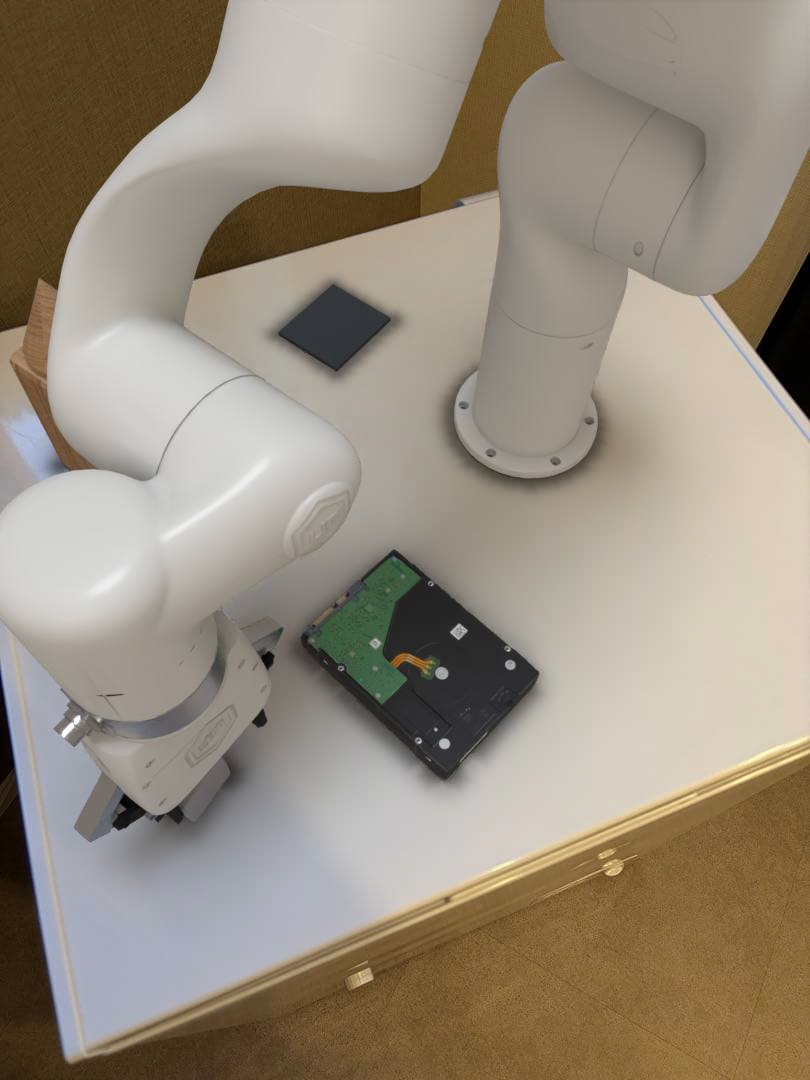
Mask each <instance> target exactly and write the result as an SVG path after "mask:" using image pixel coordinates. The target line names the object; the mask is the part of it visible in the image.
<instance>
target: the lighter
mask: <svg viewBox="0 0 810 1080" xmlns="http://www.w3.org/2000/svg"><path fill="white" fill-rule="evenodd" d="M230 775H231V769H230V767H229V765H228V764H227V762H226V760H225V758H224V755H223V756H222V757H221V758H220V759H219V760H218V761H217V762H216V764H215V765H214V766H213V767H212V768H211V769H210V770H209V771H208V773H207V774H206V775H205V776H204V777H203V778H202V779H201V781H200V782H199V783H198V784H197V785H196V786H195V787H194V788H193V789H192V791H191V792H190V793H189V794H188V795H187V796H186V797H185V798H184V799H183V800H182V801H181V802H180V803H179V804H178V805H177V806H178V807H179V808H180V809H181V811H182V812H183V813H184V816H183V817H184V818H187V819H188V820H190V821H191V822H193V823H196V822H198V821H199V819H200V818H201V817H202V815H203V814H204V812H205V811H206V809H207V808H208V807H209V805H210V803H211V802H212V801H213V800H214V798H215V797H216V795H217V794H218V792H219V791H220V789H221V788H222V787H223V785H224V784H225V782H226V781H227V779H228V778H229V777H230Z"/></svg>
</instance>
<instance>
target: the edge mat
mask: <svg viewBox="0 0 810 1080" xmlns="http://www.w3.org/2000/svg"><path fill="white" fill-rule="evenodd" d="M389 322H391V317H390V316H388V315H387V314H385V313H383V312H381V311H379V310H378V309H376V308H375V307H373V306H372V305H370V304H368V303H366V302H365V301H363V300H361V299H360V298H358V297H357V296H354V295H353V294H351V293H349V292H348V291H346V290H344V289H343V288H341V287H339V286H337V285H336V284H334V283H332V284H331V285H330V286H329V287H327V289H325V290H324V291H323V292H322V293H321V294H319V295H318V297H316V298H315V299H314V300H312V302H311V303H309V305H307V306H306V307H305V308H304V309H303V310H301V311H300V312H299V313H298V314H297V315H296V316H295V317H294V318H293V319H291V320H290V321H289V322H288V323H286V324H285V326H283V327H282V328H281V329H280V330H279V331H278V333H277V334H278V336H280V337H281V338H283V339H285V340H286V341H288V342H289V343H291V344H292V345H294V346H296V347H297V348H299V349H301V350H302V351H303V352H305V353H307V354H309V355H310V356H312V357H313V358H315V359H317V361H319V362H321V363H323V364H325V365H326V366H327V367H329V368H331V369H333V371H336V372H338V371H339V370H340V369H341V368H342V367H343V366H344V365H345V364H346V363H347V362H349V360H350V359H352V358H353V357H354V356H355V355H356V354H357V352H359V351H360V350H361V349H362V348H364V346H366V345H367V344H368V342H370V341H371V339H373V338H374V337H375V336H376V335H377V334H378V333H379V332H380V331H382V329H384V327H385V326H386V325H387V324H389Z"/></svg>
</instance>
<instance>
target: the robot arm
mask: <svg viewBox="0 0 810 1080" xmlns="http://www.w3.org/2000/svg"><path fill="white" fill-rule="evenodd" d="M501 1H502V0H228V2H227V8H226V11H225V16H224V19H223V24H222V29H221V33H220V38H219V42H218V47H217V51H216V54H215V57H214V60H213V63H212V66H211V69H210V72H209V73H208V76H207V78H206V80H205V82H204V83H203V84H202V87H201V88H200V90H199V91H198V92H197V93H196V94H195V95H194V96H193V97H192V98H191V99H190V101H188V102H187V103H186V104H185V105H184V106H182V107H181V108H180V109H178V110H177V111H176V112H174V113H173V114H171V115H170V116H169V117H168V118H166V119H165V120H164V121H163V122H161V123H160V124H159V125H157V126H156V127H155V128H154V129H152V130H151V131H150V132H149V133H147V134H146V135H145V136H144V137H143V138H142V139H141V140H140V141H139V142H138V143H137V144H136V145H135V146H134V147H133V148H132V149H131V150H130V151H129V152H128V154H127V155H126V156H125V157H124V158H123V160H122V161H121V162H120V163H119V164H118V166H117V167H116V168H115V169H114V171H113V172H112V173H111V174H110V175H109V177H108V178H107V179H106V180H105V182H104V183H103V184H102V186H101V187H100V188H99V190H98V191H97V192H96V194H95V196H93V198H92V199H91V201H90V203H89V204H88V205H87V207H86V208H85V210H84V212H83V214H82V215H81V217H80V219H79V221H78V222H77V224H76V226H75V228H74V231H73V233H72V236H71V237H70V240H69V242H68V245H67V248H66V251H65V255H64V259H63V262H62V266H61V269H60V270H61V271H60V276H59V277H60V278H59V282H58V286H57V290H58V292H57V298H56V304H55V310H54V316H53V322H52V328H51V335H50V342H49V349H48V360H47V393H48V400H49V404H50V408H51V412H52V416H53V419H54V421H55V424H56V426H57V427H58V429H59V431H60V432H61V434H62V435H63V437H64V438H65V440H66V441H67V442H68V443H69V445H70V446H71V447H72V448H73V449H74V450H75V451H76V452H78V453H79V454H80V455H81V456H83V457H84V458H85V459H86V460H87V461H89V462H90V463H91V464H92V465H94V466H95V467H96V468H98V469H99V470H97V469H87V470H74V471H73V470H70V471H64V472H60V473H57V474H54V475H51V476H49V477H45V478H43V479H42V480H40V481H37V482H36V483H33V484H32V485H30V486H28V487H27V488H26V489H24V490H23V491H21V492H19V493H18V494H17V495H16V496H15V497H14V498H13V499H12V500H11V501H10V502H9V503H8V504H6V506H5V507H4V508H3V509H2V511H1V512H0V621H1V622H2V624H3V625H4V626H5V628H6V629H7V630H8V632H10V633H11V634H12V635H13V636H14V637H15V638H16V640H18V642H19V643H20V644H21V645H22V646H23V647H24V649H26V650H27V651H28V653H29V654H30V655H31V656H32V657H33V658H34V660H35V661H36V662H38V664H39V665H40V666H41V667H42V669H44V670H45V671H46V673H48V675H49V676H50V677H51V678H52V679H53V680H54V681H55V682H56V684H57V685H58V686H59V687H60V689H59V690H60V691H61V692H62V694H63V695H64V696H65V697H66V698H67V699H68V700H69V702H68V703H67V704H66V707H67V709H66V711H65V712H64V713H63V714H62V715H63V716H64V717H63V718H62V719H61V720H60V721H59V722H58V723H57V724H56V725H55V726H54V727H53V730H54V731H55V732H56V733H57V734H58V735H59V736H60V737H62V739H63V740H65V741H66V742H67V743H68V744H69V745H71V746H72V747H73V748H76V747H77V746H78V744H80V743H81V744H82V747H83V749H84V750H85V751H86V753H87V755H88V756H89V758H90V759H91V760H92V762H93V763H94V765H95V766H96V767H97V768H98V769H99V770H100V771H101V774H100V776H99V778H98V779H97V781H96V783H95V785H94V787H93V789H92V790H91V793H90V795H89V797H88V798H87V800H86V802H85V804H84V806H83V808H82V810H81V812H80V813H79V816H78V817H77V819H76V822H75V823H74V825H73V829H74V830H75V831H76V832H78V834H79V835H80V836H82V837H83V838H84V839H85V840H86V841H87V842H88V843H93V842H94V841H96V840H98V839H100V838H102V837H104V836H105V835H107V834H109V833H111V831H112V829H115V830H116V831H118V832H119V831H122V830H123V829H127V828H128V827H129V826H130V825H131V824H133V823H135V822H136V821H138V820H140V819H141V818H143V817H144V818H146V819H147V820H148V821H149V822H152V821H153V820H155V822H157V823H159V822H160V821H161V820H162V819H163V818H164V817H165V816H168V817H169V818H170V819H171V820H172V821H173V822H175V823H176V825H180V823H181V822H182V821H183V820H184V818H185V816H184V813H183V812H182V811H181V809H180V808H179V807H178V806H177V805H178V804H179V803H180V802H181V801H182V800H183V799H184V798H185V797H186V796H187V795H188V794H189V793H190V792H191V791H192V789H193V788H194V787H195V786H196V785H197V784H198V783H199V782H200V781H201V779H202V778H203V777H204V776H205V775H206V774H207V773H208V771H209V770H210V769H211V768H212V767H213V766H214V765H215V764H216V762H217V761H218V760H219V759H220V758H221V757H222V756H223V757H224V755H225V753H226V752H227V751H228V750H229V749H230V748H231V746H232V745H234V743H235V742H236V741H237V740H238V738H239V737H240V736H241V735H242V734H243V733H244V731H245V730H246V729H247V728H248V727H249V725H251V724H252V725H254V726H255V727H256V728H258V729H260V728H264V726H266V725H267V724H268V722H269V721H268V717H267V715H266V712H265V709H264V707H265V706H266V704H267V703H268V701H269V700H270V697H271V693H272V681H271V677H270V673H269V670H270V668H271V667H272V666H274V665H273V664H274V663H275V657H276V656H275V654H274V653H273V650H275V649H276V648H277V646H278V644H279V642H280V638H281V636H282V635H283V632H284V629H285V627H284V626H283V625H282V624H280V623H279V622H278V621H277V620H276V619H274V618H272V617H271V616H270V615H267V616H264V617H263V618H261V619H259V620H257V621H255V622H254V623H251V624H250V625H248V626H247V625H246V627H243V628H242V629H240V628H239V626H238V625H237V624H236V622H234V621H233V620H232V619H231V618H230V617H229V616H227V615H226V614H225V613H223V612H222V611H220V609H221V608H223V607H224V606H225V605H227V604H229V603H230V602H231V601H233V600H235V599H236V598H237V597H239V596H241V595H242V594H244V593H245V592H247V591H250V590H251V589H252V588H254V587H256V586H257V585H258V584H260V583H262V582H263V581H266V580H267V579H268V578H269V577H271V576H273V575H274V574H276V573H278V572H279V571H281V570H282V569H284V568H285V567H287V566H288V565H289V566H290V565H291V564H292V563H294V562H295V561H296V560H299V559H300V558H301V559H302V558H304V557H306V556H308V555H310V554H313V553H315V552H316V551H317V550H319V549H320V548H321V547H323V546H324V545H325V544H326V543H328V542H329V541H330V540H331V539H332V537H334V535H336V533H337V532H338V531H339V529H340V528H341V527H342V526H343V524H344V522H345V521H346V519H347V518H348V516H349V514H350V512H351V510H352V508H353V504H354V503H355V500H356V498H357V495H358V493H359V491H360V487H361V482H362V474H363V472H362V464H361V463H362V462H361V458H360V455H359V454H358V452H357V450H356V447H355V446H354V444H353V443H352V442H351V440H350V439H349V438H348V437H347V436H346V435H345V433H343V432H342V431H341V430H340V429H339V428H338V427H336V426H335V425H334V424H332V422H330V421H329V420H328V419H326V418H324V417H323V416H321V415H320V414H318V413H317V412H315V411H313V410H312V409H311V408H309V407H308V406H306V405H304V404H303V403H301V402H300V401H298V400H296V399H295V398H293V397H292V396H290V395H289V394H288V393H286V392H284V391H282V390H281V389H279V388H278V387H277V386H274V385H273V384H272V383H270V382H269V381H267V380H266V379H265V378H264V377H262V376H260V375H259V374H257V373H256V372H254V371H253V370H251V369H250V368H248V367H246V366H245V365H244V364H242V363H241V362H239V361H238V360H236V359H235V358H233V357H231V356H229V355H228V354H227V353H226V352H223V350H220V349H219V348H217V347H216V346H214V345H213V344H212V343H209V342H208V341H207V340H205V339H204V338H202V337H200V336H199V335H197V334H196V333H194V332H193V331H191V330H190V329H188V328H187V327H186V326H185V318H186V313H187V309H188V306H189V305H188V304H189V301H190V296H191V292H192V287H193V284H194V281H195V277H196V273H197V269H198V267H199V263H200V261H201V259H202V256H203V253H204V250H205V248H206V246H207V245H208V243H209V241H210V239H211V237H212V235H213V233H214V232H215V231H216V230H217V228H218V227H219V226H220V224H221V223H222V222H223V221H224V219H225V218H226V217H227V216H228V215H229V214H231V212H233V211H234V210H235V209H236V208H237V207H238V206H240V204H242V203H244V202H246V201H247V200H248V199H250V198H252V197H255V196H256V195H257V194H259V193H262V192H264V191H268V190H271V189H274V188H278V187H288V186H289V187H290V186H293V187H308V188H317V189H325V190H326V189H328V190H335V191H345V192H346V191H348V192H357V193H393V192H394V193H395V192H398V191H403V190H408V189H412V188H415V187H417V186H420V185H421V184H423V183H424V182H426V181H427V180H429V179H430V177H431V176H432V175H433V174H434V172H435V171H436V170H437V169H438V167H439V166H440V163H441V161H442V159H443V156H444V155H445V151H446V148H447V146H448V144H449V141H450V138H451V135H452V133H453V130H454V127H455V124H456V121H457V119H458V117H459V113H460V111H461V109H462V105H463V102H464V100H465V97H466V94H467V91H468V89H469V86H470V83H471V81H472V78H473V75H474V73H475V71H476V67H477V65H478V62H479V59H480V57H481V54H482V51H483V49H484V43H485V40H486V38H487V35H488V34H489V32H490V30H491V27H492V25H493V22H494V19H495V17H496V14H497V11H498V9H499V6H500V3H501ZM543 12H544V13H543V14H544V15H543V16H544V26H545V31H546V36H547V38H548V40H549V42H550V44H551V46H552V48H553V49H554V50H555V51H556V52H557V53H558V54H559V56H560V57H562V59H564V60H560V61H555V62H552V63H549V64H547V65H545V66H542V67H541V68H539V69H538V70H536V71H534V73H533V74H531V75H530V76H529V77H528V78H527V79H526V80H525V81H524V82H523V83H522V84H521V86H520V87H519V88H518V89H517V90H516V92H515V94H514V96H513V97H512V99H511V101H510V103H509V105H508V107H507V109H506V113H505V114H504V117H503V121H502V125H501V129H500V132H499V137H498V144H497V155H496V172H497V173H496V175H497V176H496V177H497V189H498V190H497V191H498V200H499V201H498V202H499V232H498V243H497V252H496V259H495V264H494V265H495V266H494V272H493V277H492V284H491V289H490V295H489V301H488V308H487V314H486V320H485V325H484V326H485V327H484V332H483V338H482V344H481V350H480V357H479V363H478V369H477V370H475V371H474V372H473V373H472V374H471V375H469V376H468V377H467V378H466V380H465V381H464V382H463V383H462V385H461V386H460V388H459V390H458V392H457V394H456V397H455V401H454V402H455V403H454V408H453V423H454V428H455V432H456V434H457V437H458V439H459V441H460V442H461V444H462V445H463V446H464V448H465V450H466V451H467V452H468V453H469V454H470V455H471V456H472V457H473V458H474V459H475V460H476V461H478V462H479V463H481V464H483V465H484V466H485V467H486V468H489V469H491V470H493V471H495V472H497V473H499V474H502V475H507V476H510V477H513V478H521V479H543V478H549V477H553V476H557V475H559V474H561V473H564V472H567V471H568V470H570V469H572V468H573V467H575V466H576V465H578V464H579V463H580V462H581V461H582V460H583V459H584V458H585V457H586V456H587V454H588V453H589V452H590V450H591V448H592V447H593V443H594V442H595V439H596V437H597V431H598V426H599V417H598V415H599V414H598V410H597V407H596V403H595V401H594V400H593V398H592V396H591V395H592V391H593V388H594V385H595V382H596V379H597V377H598V374H599V370H600V368H601V365H602V362H603V359H604V356H605V352H606V351H607V348H608V344H609V341H610V339H611V335H612V332H613V330H614V326H615V323H616V320H617V318H618V315H619V312H620V309H621V306H622V303H623V300H624V298H625V294H626V290H627V286H628V278H629V269H630V270H632V271H634V272H636V273H638V274H640V275H642V276H643V277H645V278H647V279H649V280H651V281H653V282H654V283H658V284H660V285H662V286H664V287H666V288H668V289H671V290H672V291H675V292H677V293H680V294H684V295H686V296H690V297H708V296H712V295H716V294H718V293H721V292H722V291H724V290H726V289H727V288H729V287H730V286H732V285H733V283H735V282H736V281H737V280H739V278H740V277H741V276H742V275H743V274H744V273H745V272H746V271H747V270H748V268H749V266H750V265H751V264H752V263H753V262H754V259H755V258H756V257H757V256H758V254H759V252H760V250H761V249H762V247H763V245H764V243H765V242H766V240H767V239H768V236H769V234H770V232H771V230H772V228H773V226H774V225H775V222H776V220H777V218H778V217H779V214H780V211H781V210H782V208H783V205H784V204H785V201H786V199H787V197H788V195H789V193H790V190H791V188H792V185H793V184H794V182H795V180H796V177H797V175H798V173H799V171H800V169H801V166H802V164H803V162H804V161H805V158H806V156H807V153H808V152H809V149H810V0H544V1H543Z"/></svg>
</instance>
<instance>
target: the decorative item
mask: <svg viewBox="0 0 810 1080" xmlns="http://www.w3.org/2000/svg"><path fill="white" fill-rule="evenodd" d="M57 292H58V289H56V288H55V287H53V286H52V285H50V284H49V283H48V282H45V280H43V279H42V278H40V277H39V278H38V281H37V284H36V288H35V292H34V296H33V300H32V305H31V308H30V312H29V317H28V321H27V324H26V329H25V333H24V337H23V341H22V345H21V346H20V347H19V348H18V349H17V350H15V351H14V352H13V353H12V354H11V356H10V357H9V365H10V366H11V368H12V370H13V372H14V374H15V376H16V377H17V380H18V381H19V384H20V385H21V387H22V389H23V391H24V392H25V395H26V397H27V399H28V401H29V402H30V404H31V407H32V409H33V411H34V412H35V414H36V416H37V418H38V420H39V422H40V424H41V425H42V426H41V427H42V428H43V430H44V431H45V434H46V436H47V437H48V439H49V442H50V443H51V445H52V447H53V449H54V451H55V453H56V455H57V457H58V458H59V461H60V462H61V464H62V465H64V466H65V467H67V468H68V469H69V470H70V471H74V470H87V469H97V470H99V469H98V468H96V467H95V466H94V465H92V464H91V463H90V462H89V461H87V460H86V459H85V458H84V457H83V456H81V455H80V454H79V453H78V452H76V451H75V450H74V449H73V448H72V447H71V446H70V445H69V443H68V442H67V441H66V440H65V438H64V437H63V435H62V434H61V432H60V431H59V429H58V427H57V426H56V424H55V421H54V419H53V416H52V412H51V408H50V404H49V400H48V393H47V360H48V349H49V342H50V335H51V328H52V322H53V316H54V310H55V304H56V298H57Z"/></svg>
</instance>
